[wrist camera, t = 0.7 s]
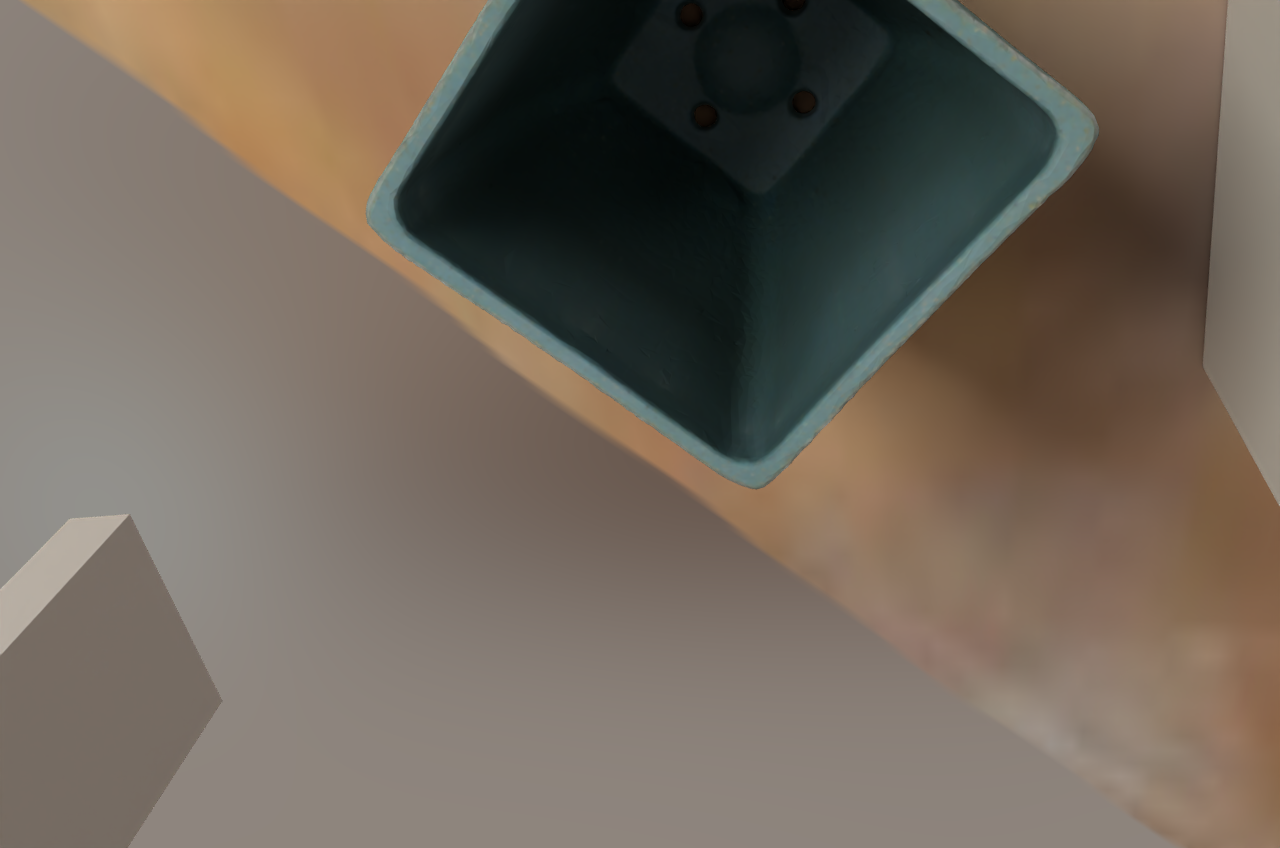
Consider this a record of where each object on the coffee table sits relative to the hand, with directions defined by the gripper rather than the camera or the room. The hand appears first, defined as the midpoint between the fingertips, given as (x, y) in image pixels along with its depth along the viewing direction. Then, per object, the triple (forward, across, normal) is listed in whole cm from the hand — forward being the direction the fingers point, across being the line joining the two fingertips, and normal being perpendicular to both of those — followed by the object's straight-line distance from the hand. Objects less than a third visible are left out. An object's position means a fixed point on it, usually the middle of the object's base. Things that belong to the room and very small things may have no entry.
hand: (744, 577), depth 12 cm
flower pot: (+18, -1, +1) cm, 18 cm away
